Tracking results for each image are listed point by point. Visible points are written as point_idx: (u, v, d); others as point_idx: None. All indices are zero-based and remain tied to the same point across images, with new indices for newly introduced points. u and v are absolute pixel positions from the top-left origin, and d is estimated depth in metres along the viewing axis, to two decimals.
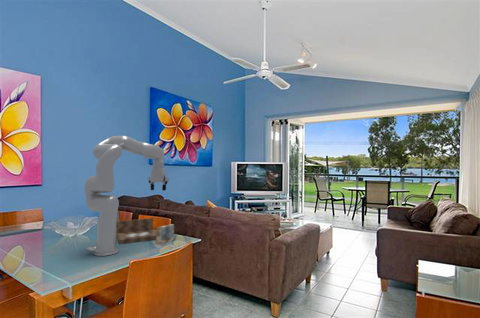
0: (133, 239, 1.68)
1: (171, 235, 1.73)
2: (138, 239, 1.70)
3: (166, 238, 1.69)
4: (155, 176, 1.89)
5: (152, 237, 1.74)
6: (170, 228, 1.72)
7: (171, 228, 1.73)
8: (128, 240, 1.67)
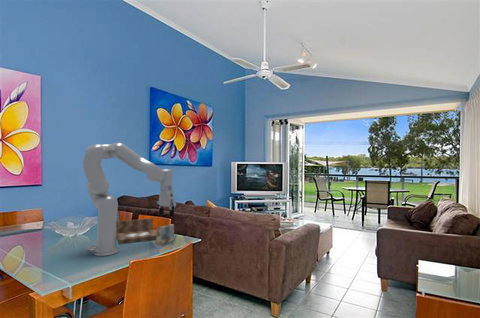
0: (133, 239, 1.68)
1: (171, 235, 1.73)
2: (138, 239, 1.70)
3: (166, 238, 1.69)
4: None
5: (152, 237, 1.74)
6: (170, 228, 1.72)
7: (171, 228, 1.73)
8: (128, 240, 1.67)
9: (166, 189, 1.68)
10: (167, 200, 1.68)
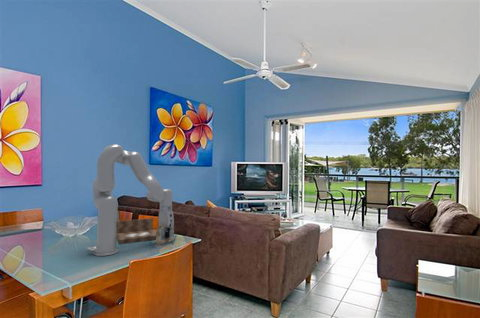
0: (133, 239, 1.68)
1: (171, 235, 1.73)
2: (138, 239, 1.70)
3: (166, 238, 1.69)
4: None
5: (152, 237, 1.74)
6: None
7: None
8: (128, 240, 1.67)
9: (166, 209, 1.68)
10: (166, 220, 1.67)
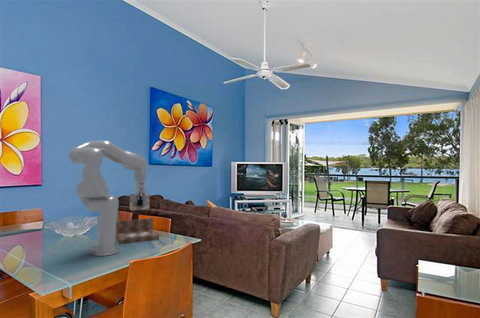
0: (133, 239, 1.68)
1: (145, 203, 1.78)
2: (138, 239, 1.70)
3: None
4: None
5: (152, 237, 1.74)
6: (144, 197, 1.78)
7: (145, 197, 1.78)
8: (128, 240, 1.67)
9: (137, 178, 1.74)
10: (137, 188, 1.74)
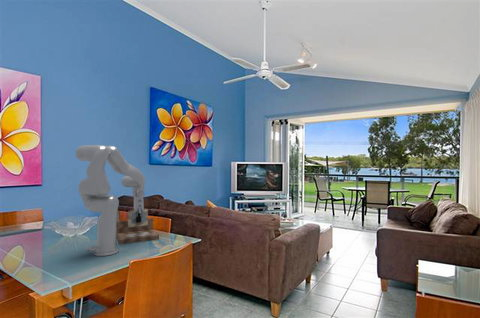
0: (133, 239, 1.68)
1: (144, 220, 1.78)
2: (138, 239, 1.70)
3: (138, 222, 1.76)
4: None
5: (152, 237, 1.74)
6: (143, 213, 1.78)
7: (144, 213, 1.78)
8: (128, 240, 1.67)
9: (135, 195, 1.74)
10: (135, 205, 1.74)
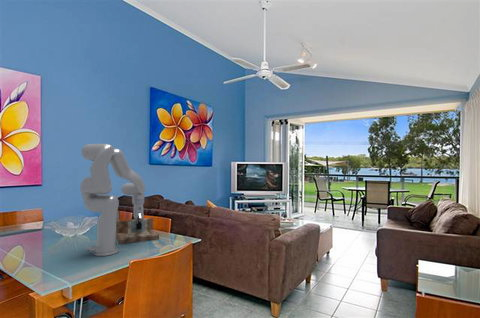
0: (133, 239, 1.68)
1: (144, 229, 1.78)
2: (138, 239, 1.70)
3: (137, 231, 1.76)
4: None
5: (152, 237, 1.74)
6: (142, 222, 1.78)
7: (144, 222, 1.78)
8: (128, 240, 1.67)
9: (135, 202, 1.74)
10: (135, 213, 1.73)
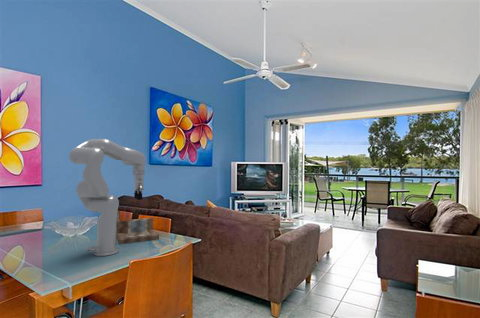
0: (133, 239, 1.68)
1: (144, 229, 1.78)
2: (138, 239, 1.70)
3: (137, 231, 1.76)
4: None
5: (152, 237, 1.74)
6: (142, 222, 1.78)
7: (144, 222, 1.78)
8: (128, 240, 1.67)
9: (135, 173, 1.75)
10: (135, 184, 1.74)
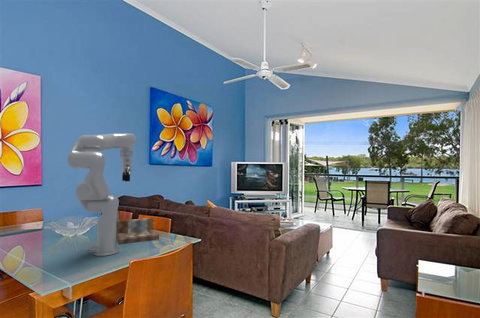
0: (133, 239, 1.68)
1: (144, 229, 1.78)
2: (138, 239, 1.70)
3: (137, 231, 1.76)
4: None
5: (152, 237, 1.74)
6: (142, 222, 1.78)
7: (144, 222, 1.78)
8: (128, 240, 1.67)
9: (123, 154, 1.69)
10: (123, 165, 1.69)
